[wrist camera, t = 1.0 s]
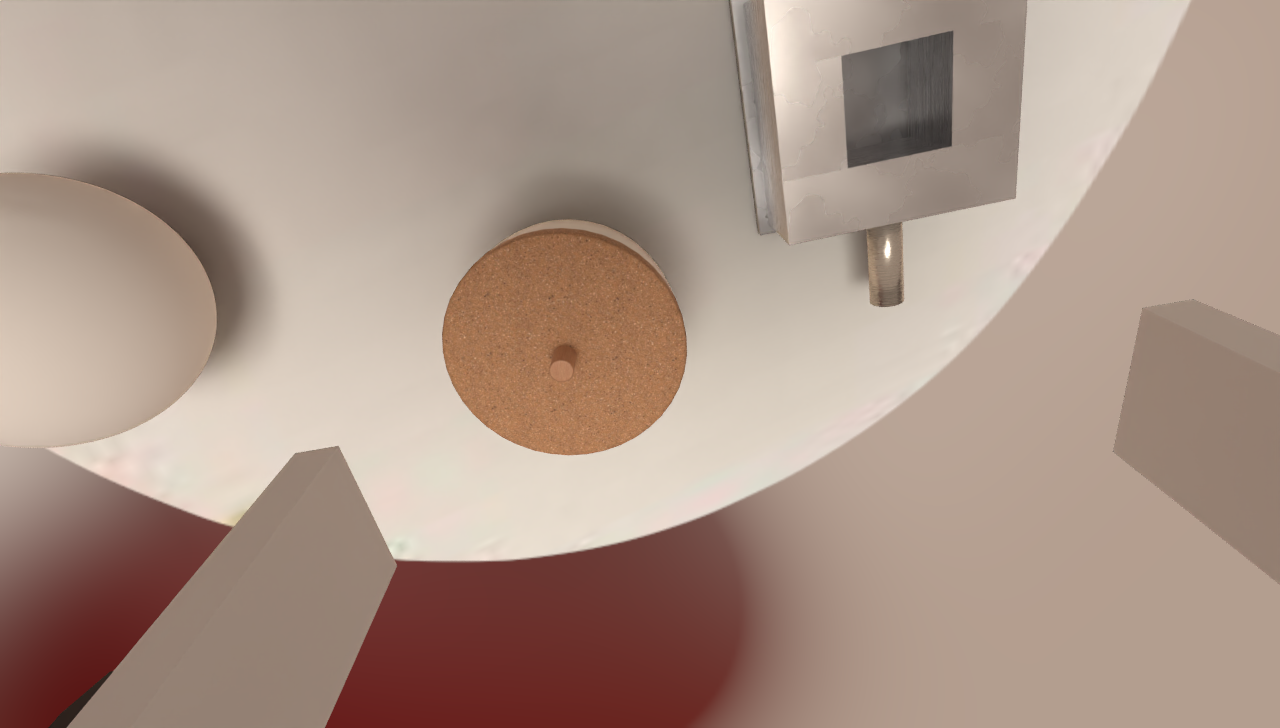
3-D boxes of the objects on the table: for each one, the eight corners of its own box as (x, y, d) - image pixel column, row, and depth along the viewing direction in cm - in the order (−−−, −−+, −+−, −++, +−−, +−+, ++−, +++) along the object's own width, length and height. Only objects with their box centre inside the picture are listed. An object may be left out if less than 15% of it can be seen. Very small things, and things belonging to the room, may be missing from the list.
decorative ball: (42, 107, 29) (-306, 126, 18) (292, 232, 32) (120, 313, 21) (10, 311, 33) (-286, 425, 22) (233, 406, 36) (65, 547, 25)
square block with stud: (728, -5, 27) (748, -20, 23) (975, -63, 27) (1046, -91, 22) (766, 302, 34) (788, 337, 29) (967, 262, 33) (1020, 291, 29)
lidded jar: (679, 199, 31) (698, 245, 23) (670, 383, 36) (684, 478, 28) (471, 195, 31) (412, 240, 23) (488, 382, 36) (445, 477, 27)
